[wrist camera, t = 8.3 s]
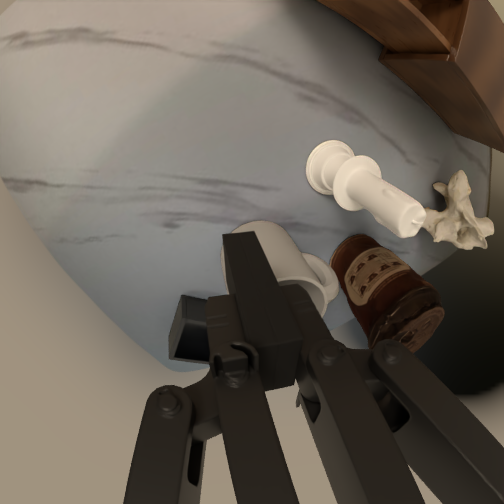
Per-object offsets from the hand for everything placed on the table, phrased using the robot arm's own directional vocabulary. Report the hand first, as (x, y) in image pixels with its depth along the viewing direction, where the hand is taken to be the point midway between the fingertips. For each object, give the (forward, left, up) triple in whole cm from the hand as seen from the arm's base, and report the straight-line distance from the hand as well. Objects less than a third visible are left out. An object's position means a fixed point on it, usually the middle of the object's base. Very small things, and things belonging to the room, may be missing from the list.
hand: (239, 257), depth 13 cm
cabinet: (+16, +23, -11) cm, 31 cm away
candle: (+9, +5, -12) cm, 16 cm away
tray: (+3, -16, -11) cm, 20 cm away
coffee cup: (+17, -3, -12) cm, 21 cm away
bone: (+27, +9, -12) cm, 31 cm away
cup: (+7, -5, -12) cm, 14 cm away
